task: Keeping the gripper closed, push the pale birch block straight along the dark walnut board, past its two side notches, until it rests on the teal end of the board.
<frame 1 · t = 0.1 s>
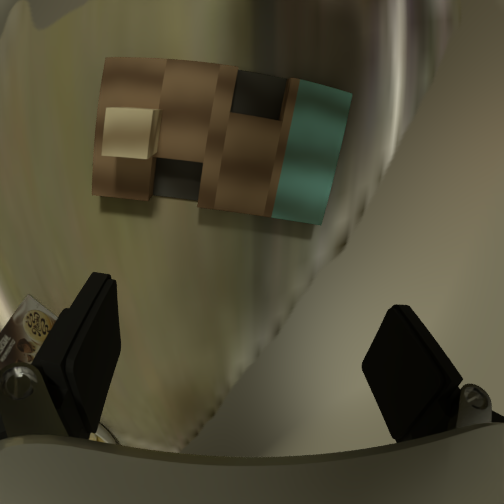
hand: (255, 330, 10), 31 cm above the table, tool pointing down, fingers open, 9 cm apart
trap board: (216, 135, 36), on the table
coffee box: (43, 318, 46), on the table
birch block: (138, 129, 32), point 3 cm above the table, touching trap board
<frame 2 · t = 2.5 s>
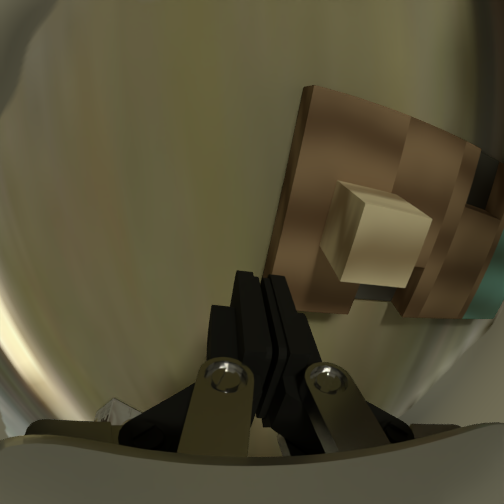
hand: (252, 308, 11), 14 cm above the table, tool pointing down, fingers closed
trap board: (428, 224, 26), on the table
coffee box: (132, 419, 37), on the table
birch block: (359, 219, 22), point 3 cm above the table, touching trap board
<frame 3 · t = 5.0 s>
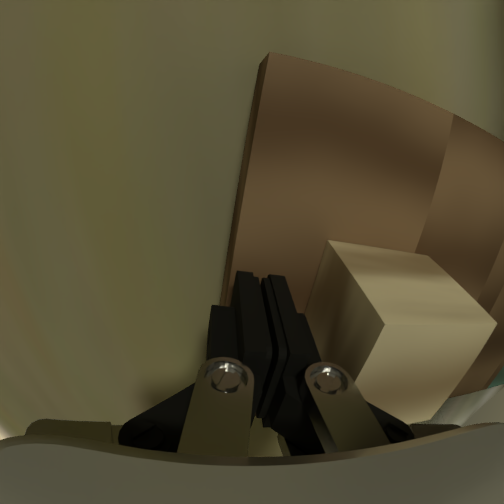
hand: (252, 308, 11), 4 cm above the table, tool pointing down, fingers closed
trap board: (458, 278, 17), on the table
birch block: (363, 300, 13), point 3 cm above the table, touching gripper
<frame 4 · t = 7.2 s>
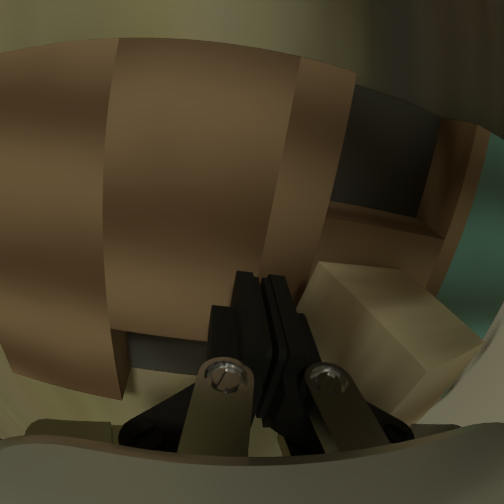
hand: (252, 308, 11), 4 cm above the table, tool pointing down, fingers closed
trap board: (270, 254, 15), on the table
birch block: (338, 318, 12), point 4 cm above the table, tilted 20°, touching gripper
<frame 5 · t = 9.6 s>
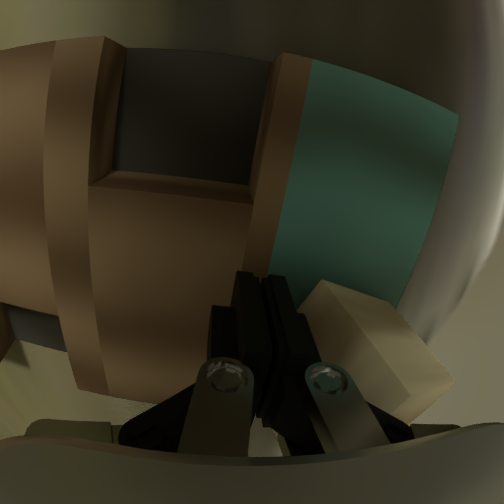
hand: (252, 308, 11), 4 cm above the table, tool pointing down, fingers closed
trap board: (93, 230, 14), on the table
birch block: (322, 336, 13), point 4 cm above the table, tilted 19°, touching gripper, trap board
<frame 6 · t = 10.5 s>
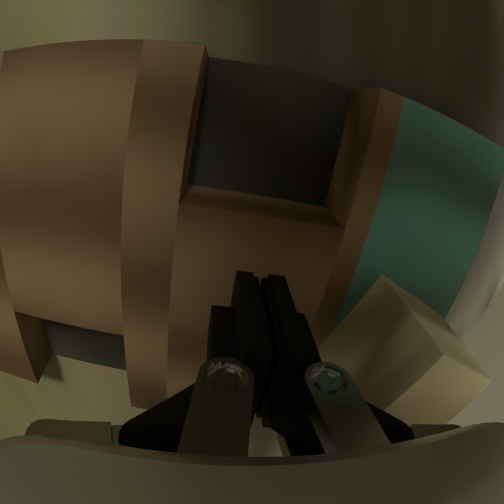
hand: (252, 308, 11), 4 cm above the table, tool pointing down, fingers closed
trap board: (159, 245, 14), on the table
birch block: (380, 335, 14), point 3 cm above the table, touching trap board
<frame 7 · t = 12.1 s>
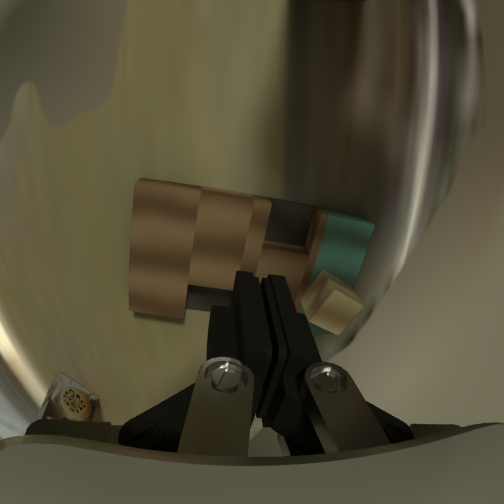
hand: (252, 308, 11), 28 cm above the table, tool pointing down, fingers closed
trap board: (246, 259, 41), on the table
coffee box: (74, 389, 50), on the table
birch block: (325, 292, 41), point 3 cm above the table, touching trap board
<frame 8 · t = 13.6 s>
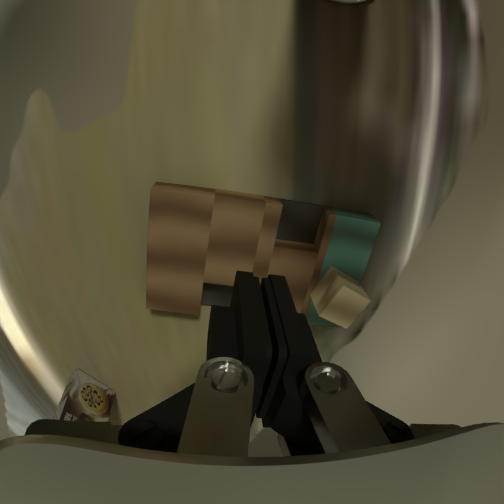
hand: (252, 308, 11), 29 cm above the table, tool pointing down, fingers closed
trap board: (258, 257, 43), on the table
coffee box: (91, 385, 53), on the table
birch block: (334, 287, 43), point 3 cm above the table, touching trap board
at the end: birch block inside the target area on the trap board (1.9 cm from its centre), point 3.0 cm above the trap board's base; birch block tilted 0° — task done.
